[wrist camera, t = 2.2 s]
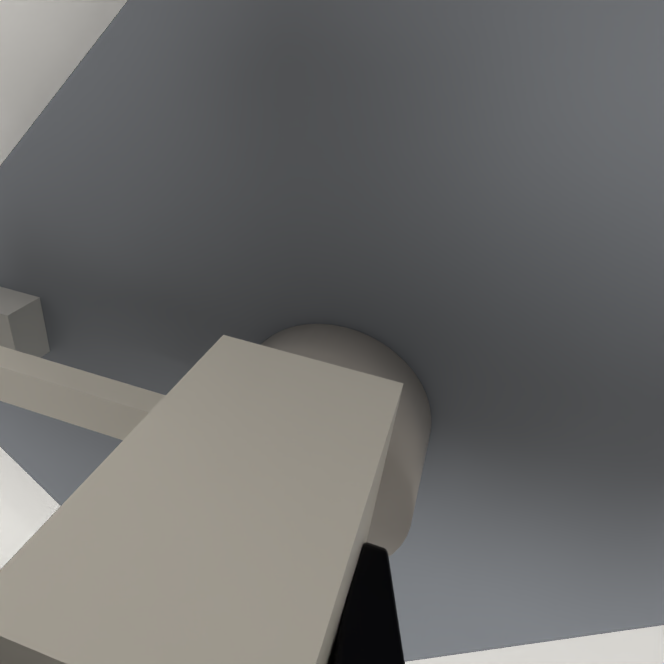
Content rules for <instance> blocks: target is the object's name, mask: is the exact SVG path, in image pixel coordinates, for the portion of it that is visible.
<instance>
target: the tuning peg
mask: <svg viewBox="0 0 664 664" xmlns="http://www.w3.org/2000/svg"><path fill="white" fill-rule="evenodd" d="M0 401H2V402H5V403H8V404H12V405H15V406H18V407H21V408H24V409H27V410H30V411H33V412H36V413H39V414H43V415H46V416H49V417H52V418H55V419H58V420H61V421H64V422H67V423H70V424H74V425H77V426H80V427H83V428H86V429H89V430H92V431H95V432H98V433H102V434H105V435H108V436H111V437H114V438H117V439H120V440H123V441H122V442H121V443H120V444H119V445H118V446H117V447H116V448H115V449H114V451H113V452H112V453H111V454H110V455H109V456H108V457H107V458H106V459H105V460H104V461H103V462H102V463H101V464H100V465H99V466H98V467H97V468H96V470H95V471H94V472H93V473H92V474H91V475H90V476H89V477H88V478H87V479H86V480H85V481H84V482H83V483H82V484H81V485H80V486H79V487H78V488H77V490H76V491H75V492H74V493H73V494H72V495H71V496H70V497H69V498H68V499H67V500H66V501H65V502H64V503H63V504H62V505H61V506H60V507H59V509H58V510H57V511H56V512H55V513H54V514H53V515H52V516H51V517H50V518H49V519H48V520H47V521H46V522H45V523H44V524H43V525H42V526H41V528H40V529H39V530H38V531H37V532H36V533H35V534H34V535H33V536H32V537H31V538H30V539H29V540H28V541H27V542H26V543H25V544H24V545H23V546H22V548H21V549H20V550H19V551H18V552H17V553H16V554H15V555H14V556H13V557H12V558H11V559H10V560H9V561H8V562H7V563H6V564H5V565H4V567H3V568H2V569H1V570H0V664H331V660H332V656H333V651H334V647H335V642H336V638H337V633H338V629H339V624H340V620H341V615H342V611H343V608H344V605H345V601H346V598H347V595H348V591H349V588H350V585H351V582H352V578H353V575H354V572H355V568H356V565H357V562H358V559H359V555H360V552H361V549H362V546H363V544H364V543H366V542H368V543H371V544H374V545H377V546H381V547H384V548H385V549H386V550H387V552H388V556H391V555H392V554H393V553H394V552H395V551H396V550H397V549H398V548H399V547H400V546H401V545H402V543H403V542H404V540H405V538H406V537H407V534H408V532H409V529H410V527H411V522H412V517H413V512H414V508H415V503H416V498H417V493H418V488H419V484H420V479H421V474H422V469H423V465H424V460H425V455H426V450H427V445H428V441H429V436H430V430H431V412H430V405H429V402H428V399H427V395H426V393H425V391H424V389H423V387H422V384H421V383H420V381H419V379H418V378H417V376H416V375H415V373H414V372H413V371H412V369H411V368H410V367H409V366H408V365H407V363H406V362H405V361H404V360H403V359H401V358H400V357H399V356H398V355H397V354H396V353H395V352H394V351H392V350H391V349H390V348H388V347H387V346H386V345H384V344H383V343H381V342H379V341H377V340H376V339H374V338H372V337H370V336H368V335H366V334H363V333H361V332H359V331H356V330H352V329H349V328H346V327H341V326H336V325H329V324H305V325H299V326H294V327H291V328H288V329H285V330H282V331H280V332H278V333H276V334H274V335H272V336H271V337H269V338H268V339H267V340H265V341H264V342H263V343H262V344H261V345H259V344H256V343H252V342H248V341H244V340H241V339H237V338H233V337H230V336H226V335H223V336H222V337H221V338H220V339H219V340H218V341H217V342H216V343H215V344H214V345H213V346H212V347H211V348H210V349H209V350H208V351H207V352H206V354H205V355H204V356H203V357H202V358H201V359H200V360H199V361H198V362H197V363H196V364H195V365H194V366H193V367H192V368H191V369H190V370H189V371H188V373H187V374H186V375H185V376H184V377H183V378H182V379H181V380H180V381H179V382H178V383H177V384H176V385H175V386H174V387H173V388H172V389H171V390H170V391H169V393H168V394H167V395H163V394H159V393H156V392H153V391H149V390H146V389H143V388H139V387H136V386H133V385H129V384H126V383H123V382H119V381H116V380H113V379H109V378H106V377H103V376H99V375H96V374H93V373H89V372H86V371H83V370H79V369H76V368H73V367H69V366H66V365H63V364H59V363H56V362H53V361H49V360H46V359H43V358H39V357H36V356H33V355H29V354H26V353H23V352H19V351H16V350H13V349H9V348H6V347H3V346H0Z"/></svg>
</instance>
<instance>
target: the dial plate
mask: <svg viewBox="0 0 664 664" xmlns="http://www.w3.org/2000/svg"><path fill="white" fill-rule="evenodd" d="M305 324H329V325H336V326H341V327H346V328H349V329H352V330H356V331H359V332H361V333H363V334H366V335H368V336H370V337H372V338H374V339H376V340H377V341H379V342H381V343H383V344H384V345H386V346H387V347H388V348H390V349H391V350H392V351H394V352H395V353H396V354H397V355H398V356H399V357H400V358H401V359H403V360H404V361H405V362H406V363H407V365H408V366H409V367H410V368H411V369H412V371H413V372H414V373H415V375H416V376H417V378H418V379H419V381H420V383H421V384H422V387H423V389H424V391H425V393H426V395H427V399H428V402H429V405H430V412H431V430H430V436H429V441H428V445H427V450H426V455H425V460H424V465H423V469H422V474H421V479H420V484H419V488H418V493H417V498H416V503H415V508H414V512H413V517H412V522H411V527H410V529H409V532H408V534H407V537H406V538H405V540H404V542H403V543H402V545H401V546H400V547H399V548H398V549H397V550H396V551H395V552H394V553H393V554H392V555H391V556H389V563H390V569H391V576H392V582H393V589H394V595H395V602H396V608H397V615H398V622H399V628H400V635H401V641H402V648H403V654H404V661H405V662H406V661H413V660H420V659H427V658H434V657H441V656H448V655H455V654H462V653H469V652H476V651H483V650H490V649H497V648H504V647H511V646H518V645H525V644H532V643H540V642H547V641H554V640H561V639H568V638H575V637H582V636H589V635H596V634H603V633H610V632H617V631H624V630H631V629H638V628H645V627H652V626H659V625H664V0H128V1H127V2H126V4H125V5H124V6H123V8H122V9H121V10H120V11H119V13H118V14H117V15H116V17H115V18H114V19H113V21H112V22H111V23H110V24H109V26H108V27H107V28H106V30H105V31H104V32H103V34H102V35H101V36H100V37H99V39H98V40H97V41H96V43H95V44H94V45H93V46H92V48H91V49H90V50H89V52H88V53H87V54H86V56H85V57H84V58H83V59H82V61H81V62H80V63H79V65H78V66H77V67H76V69H75V70H74V71H73V72H72V74H71V75H70V76H69V78H68V79H67V80H66V82H65V83H64V84H63V85H62V87H61V88H60V89H59V91H58V92H57V93H56V94H55V96H54V97H53V98H52V100H51V101H50V102H49V104H48V105H47V106H46V107H45V109H44V110H43V111H42V113H41V114H40V115H39V117H38V118H37V119H36V120H35V122H34V123H33V124H32V126H31V127H30V128H29V129H28V131H27V132H26V133H25V135H24V136H23V137H22V139H21V140H20V141H19V142H18V144H17V145H16V146H15V148H14V149H13V150H12V152H11V153H10V154H9V155H8V157H7V158H6V159H5V161H4V162H3V163H2V165H1V166H0V346H3V347H6V348H9V349H13V350H16V351H19V352H23V353H26V354H29V355H33V356H36V357H39V358H43V359H46V360H49V361H53V362H56V363H59V364H63V365H66V366H69V367H73V368H76V369H79V370H83V371H86V372H89V373H93V374H96V375H99V376H103V377H106V378H109V379H113V380H116V381H119V382H123V383H126V384H129V385H133V386H136V387H139V388H143V389H146V390H149V391H153V392H156V393H159V394H163V395H167V394H168V393H169V391H170V390H171V389H172V388H173V387H174V386H175V385H176V384H177V383H178V382H179V381H180V380H181V379H182V378H183V377H184V376H185V375H186V374H187V373H188V371H189V370H190V369H191V368H192V367H193V366H194V365H195V364H196V363H197V362H198V361H199V360H200V359H201V358H202V357H203V356H204V355H205V354H206V352H207V351H208V350H209V349H210V348H211V347H212V346H213V345H214V344H215V343H216V342H217V341H218V340H219V339H220V338H221V337H222V336H223V335H226V336H230V337H233V338H237V339H241V340H244V341H248V342H252V343H256V344H259V345H261V344H262V343H263V342H264V341H265V340H267V339H268V338H269V337H271V336H272V335H274V334H276V333H278V332H280V331H282V330H285V329H288V328H291V327H294V326H299V325H305ZM122 441H123V440H120V439H117V438H114V437H111V436H108V435H105V434H102V433H98V432H95V431H92V430H89V429H86V428H83V427H80V426H77V425H74V424H70V423H67V422H64V421H61V420H58V419H55V418H52V417H49V416H46V415H43V414H39V413H36V412H33V411H30V410H27V409H24V408H21V407H18V406H15V405H12V404H8V403H5V402H2V401H0V447H1V448H2V449H3V450H4V451H5V452H6V453H7V454H8V455H9V456H10V457H11V458H12V459H13V460H14V461H16V462H17V463H18V464H19V465H20V466H21V467H22V468H23V469H24V470H25V471H26V472H27V473H28V474H29V475H30V476H31V477H32V478H33V479H34V480H35V481H36V482H37V483H38V484H39V485H40V486H41V487H42V488H43V489H44V490H45V491H46V492H47V493H48V494H49V495H50V496H51V497H52V498H53V499H54V500H55V501H56V502H57V503H58V504H59V505H62V504H63V503H64V502H65V501H66V500H67V499H68V498H69V497H70V496H71V495H72V494H73V493H74V492H75V491H76V490H77V488H78V487H79V486H80V485H81V484H82V483H83V482H84V481H85V480H86V479H87V478H88V477H89V476H90V475H91V474H92V473H93V472H94V471H95V470H96V468H97V467H98V466H99V465H100V464H101V463H102V462H103V461H104V460H105V459H106V458H107V457H108V456H109V455H110V454H111V453H112V452H113V451H114V449H115V448H116V447H117V446H118V445H119V444H120V443H121V442H122Z"/></svg>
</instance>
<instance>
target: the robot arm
mask: <svg viewBox="0 0 664 664" xmlns="http://www.w3.org/2000/svg"><path fill="white" fill-rule="evenodd" d="M331 664H405V661H404V654H403V648H402V641H401V635H400V628H399V622H398V615H397V608H396V602H395V595H394V589H393V582H392V576H391V569H390V563H389V556H388V552H387V550H386V549H385V548H384V547H381V546H377V545H374V544H371V543H368V542H366V543H364V544H363V546H362V549H361V552H360V555H359V559H358V562H357V565H356V568H355V572H354V575H353V578H352V582H351V585H350V588H349V591H348V595H347V598H346V601H345V605H344V608H343V611H342V615H341V620H340V624H339V629H338V633H337V638H336V642H335V647H334V651H333V656H332V660H331Z"/></svg>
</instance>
